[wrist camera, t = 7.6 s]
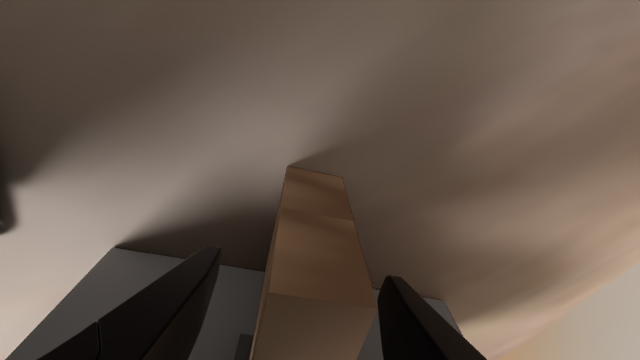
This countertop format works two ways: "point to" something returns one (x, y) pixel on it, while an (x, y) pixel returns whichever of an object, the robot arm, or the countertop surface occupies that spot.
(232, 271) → the base plate
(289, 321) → the cross plate
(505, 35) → the countertop surface
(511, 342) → the countertop surface
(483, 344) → the countertop surface
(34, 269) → the countertop surface
